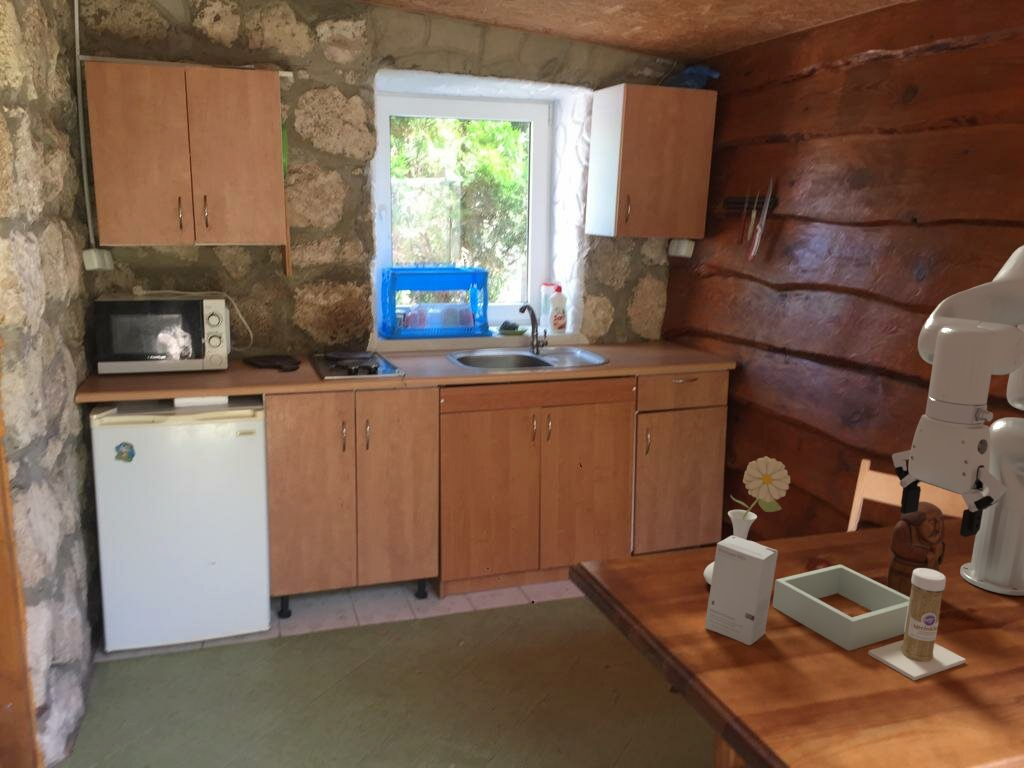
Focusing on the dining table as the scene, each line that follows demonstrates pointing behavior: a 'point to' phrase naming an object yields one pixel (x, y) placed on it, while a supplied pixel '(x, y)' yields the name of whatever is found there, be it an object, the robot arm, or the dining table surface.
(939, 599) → the sprinkles bottle
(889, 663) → the mat
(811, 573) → the open box
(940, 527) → the wooden figurine
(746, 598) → the skincare box
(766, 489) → the flower in vase
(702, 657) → the dining table surface
